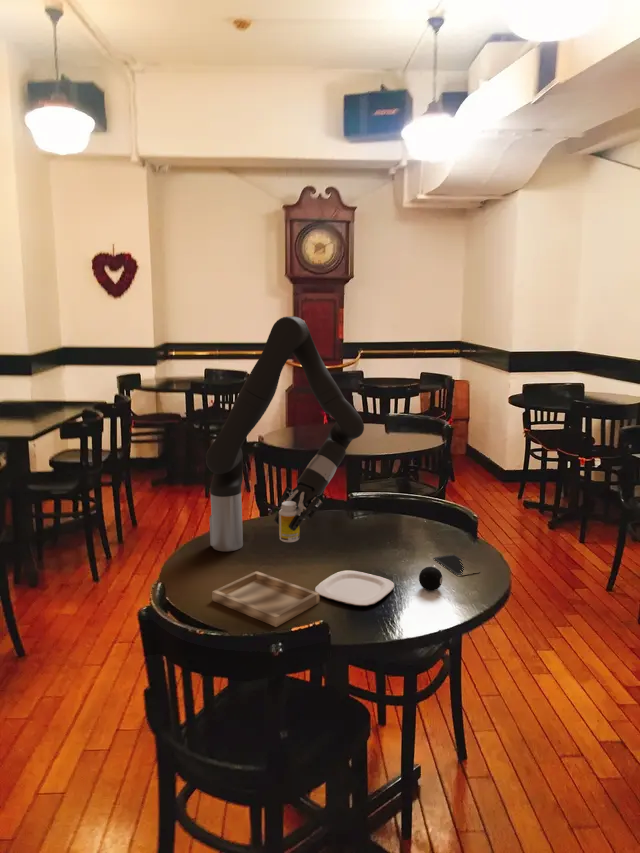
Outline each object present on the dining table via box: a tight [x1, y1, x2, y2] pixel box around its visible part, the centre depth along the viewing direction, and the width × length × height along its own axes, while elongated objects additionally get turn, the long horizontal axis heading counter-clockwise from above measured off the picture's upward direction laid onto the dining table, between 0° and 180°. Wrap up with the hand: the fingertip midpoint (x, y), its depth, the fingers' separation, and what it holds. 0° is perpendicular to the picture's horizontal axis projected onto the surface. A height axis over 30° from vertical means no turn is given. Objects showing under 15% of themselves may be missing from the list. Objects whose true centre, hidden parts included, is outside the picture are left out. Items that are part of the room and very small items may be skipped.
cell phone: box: [433, 553, 464, 575], centre depth 192 cm, size 7×14×1 cm, turn 21°
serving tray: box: [211, 570, 320, 628], centre depth 170 cm, size 22×16×2 cm
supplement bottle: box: [278, 501, 301, 543], centre depth 182 cm, size 6×6×10 cm
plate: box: [314, 569, 395, 607], centre depth 176 cm, size 18×18×2 cm
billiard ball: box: [418, 566, 443, 591], centre depth 177 cm, size 6×6×6 cm
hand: (284, 525), depth 181 cm, fingers closed on supplement bottle, 5 cm apart
